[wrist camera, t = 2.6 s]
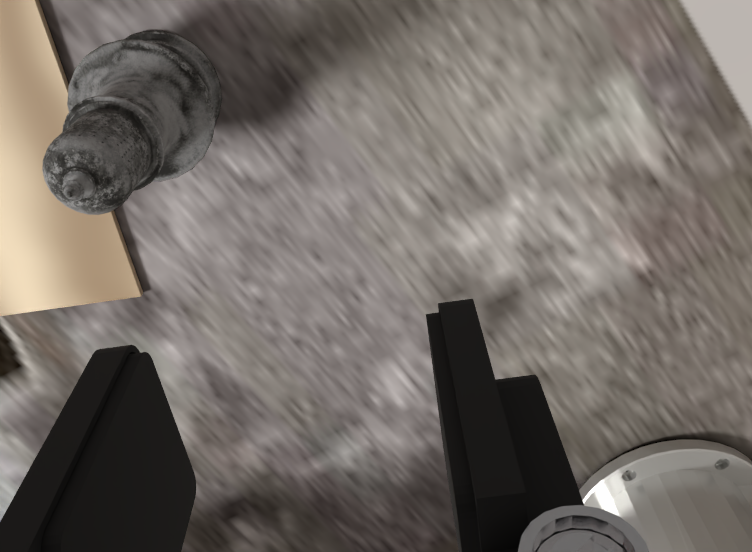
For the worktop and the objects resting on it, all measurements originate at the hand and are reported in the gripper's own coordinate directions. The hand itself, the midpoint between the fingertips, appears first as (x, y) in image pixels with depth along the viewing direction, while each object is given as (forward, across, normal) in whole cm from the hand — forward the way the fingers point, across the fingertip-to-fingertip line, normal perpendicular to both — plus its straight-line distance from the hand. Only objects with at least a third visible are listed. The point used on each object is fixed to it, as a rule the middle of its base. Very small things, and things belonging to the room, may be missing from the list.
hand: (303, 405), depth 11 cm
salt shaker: (+24, +8, 0) cm, 25 cm away
